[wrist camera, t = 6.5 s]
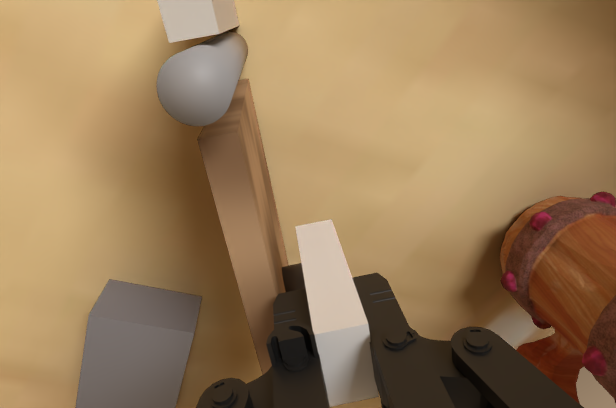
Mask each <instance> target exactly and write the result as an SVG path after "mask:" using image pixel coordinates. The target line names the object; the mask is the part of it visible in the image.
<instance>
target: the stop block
mask: <svg viewBox="0 0 616 408" xmlns="http://www.w3.org/2000/svg"><path fill="white" fill-rule="evenodd" d="M201 299H202V297H201V296H196V295H191V294H185V293H180V292H175V291H170V290H164V289H159V288H154V287H148V286H143V285H138V284H132V283H127V282H122V281H117V280H111V279H109V281H108V283H107V284H106V286H105V288H104V290H103V291H102V293H101V295H100V296H99V298H98V300H97V302H96V303H95V305H94V307H93V309H92V310H91V312H90V314H89V317H88V324H87V331H86V338H85V345H84V352H83V359H82V366H81V373H80V380H79V387H78V394H77V401H76V407H75V408H175V407H176V403H177V399H178V395H179V391H180V387H181V384H182V380H183V376H184V372H185V368H186V364H187V360H188V356H189V352H190V348H191V344H192V340H193V337H194V332H195V328H196V323H197V318H198V313H199V308H200V304H201Z"/></svg>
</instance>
